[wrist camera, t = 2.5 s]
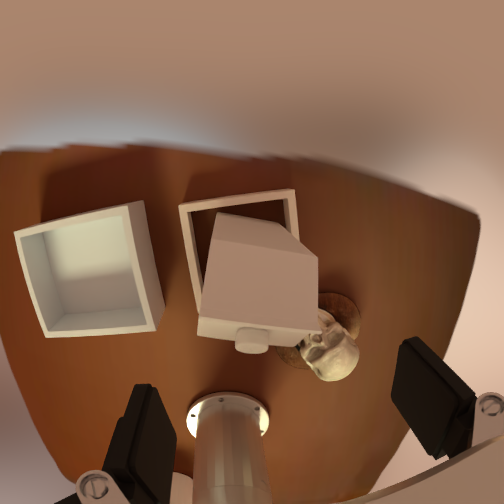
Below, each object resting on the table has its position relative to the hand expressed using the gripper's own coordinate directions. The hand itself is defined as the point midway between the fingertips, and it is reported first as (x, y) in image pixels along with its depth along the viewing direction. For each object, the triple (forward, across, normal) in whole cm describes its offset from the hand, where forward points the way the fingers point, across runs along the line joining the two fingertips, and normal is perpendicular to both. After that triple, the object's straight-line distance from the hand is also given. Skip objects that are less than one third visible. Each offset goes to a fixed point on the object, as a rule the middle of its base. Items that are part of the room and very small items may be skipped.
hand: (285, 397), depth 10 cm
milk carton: (+26, 0, +1) cm, 26 cm away
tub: (+25, +18, 0) cm, 31 cm away
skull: (+26, -8, +14) cm, 30 cm away
